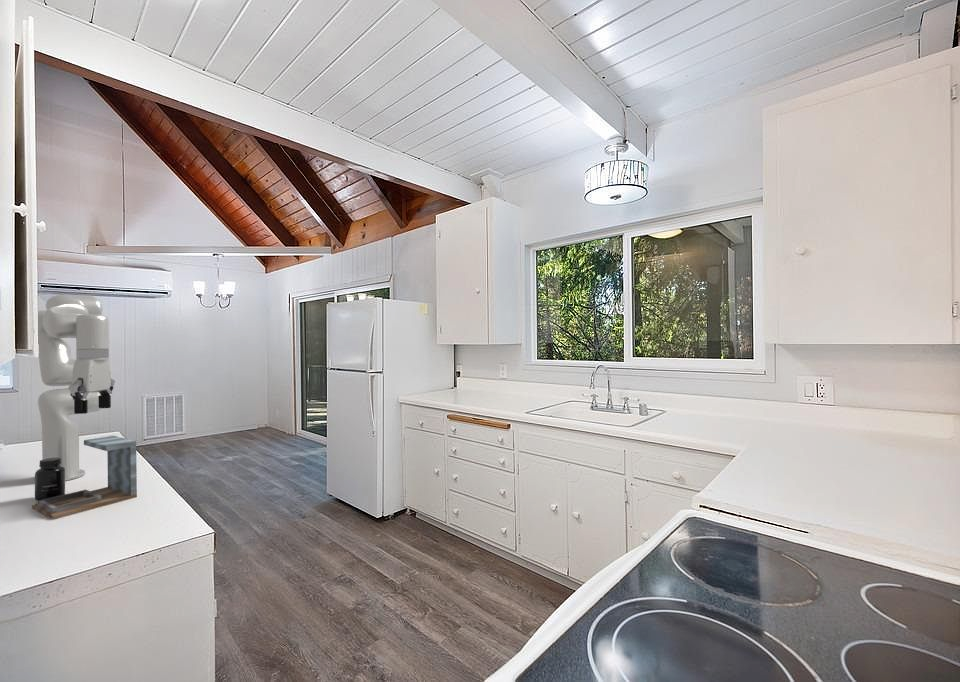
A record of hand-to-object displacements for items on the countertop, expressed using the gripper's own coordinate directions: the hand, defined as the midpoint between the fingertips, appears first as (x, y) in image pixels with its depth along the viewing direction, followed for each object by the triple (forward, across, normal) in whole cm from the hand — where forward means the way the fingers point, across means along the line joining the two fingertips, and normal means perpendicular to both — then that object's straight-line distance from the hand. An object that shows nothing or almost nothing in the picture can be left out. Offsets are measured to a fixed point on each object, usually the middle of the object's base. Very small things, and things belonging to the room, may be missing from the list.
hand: (93, 410), depth 136 cm
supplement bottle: (+28, -3, -15) cm, 31 cm away
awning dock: (+27, +3, 0) cm, 27 cm away
